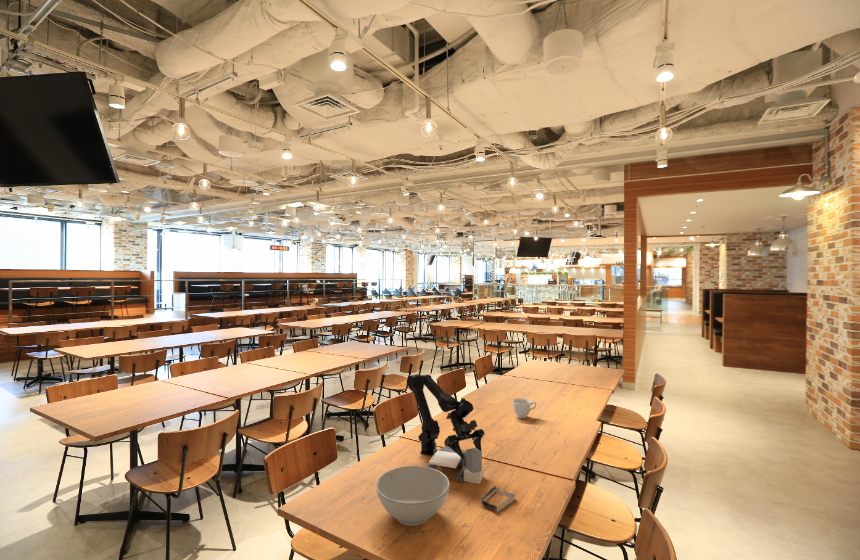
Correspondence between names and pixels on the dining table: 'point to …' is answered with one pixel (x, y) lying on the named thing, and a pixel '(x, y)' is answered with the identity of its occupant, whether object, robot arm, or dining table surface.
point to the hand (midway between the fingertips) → (472, 456)
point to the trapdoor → (447, 458)
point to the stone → (473, 460)
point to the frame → (461, 473)
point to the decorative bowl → (412, 493)
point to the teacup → (522, 407)
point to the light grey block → (473, 476)
